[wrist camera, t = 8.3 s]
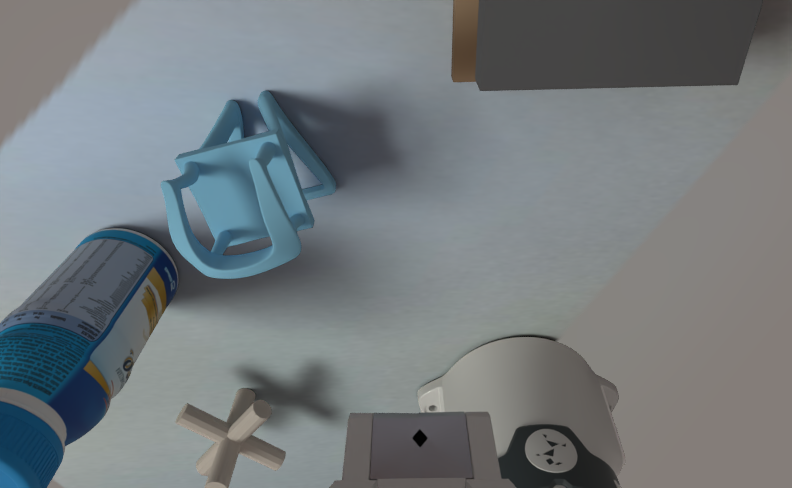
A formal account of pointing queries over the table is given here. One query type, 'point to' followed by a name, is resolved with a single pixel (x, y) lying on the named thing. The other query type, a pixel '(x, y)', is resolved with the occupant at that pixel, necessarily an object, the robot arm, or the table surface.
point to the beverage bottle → (76, 348)
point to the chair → (245, 193)
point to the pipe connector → (231, 438)
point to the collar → (612, 43)
